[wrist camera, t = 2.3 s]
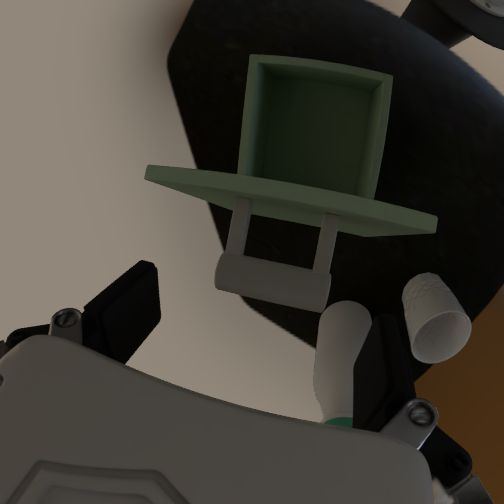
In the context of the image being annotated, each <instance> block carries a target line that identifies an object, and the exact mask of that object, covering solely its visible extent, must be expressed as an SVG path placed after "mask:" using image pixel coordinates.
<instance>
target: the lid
mask: <svg viewBox="0 0 504 504" xmlns="http://www.w3.org/2000/svg"><path fill="white" fill-rule="evenodd" d="M145 180H148V181H151V182H154V183H157V184H160V185H163V186H166V187H169V188H171V189H174V190H177V191H180V192H183V193H186V194H188V195H191V196H194V197H197V198H200V199H203V200H205V201H208V202H211V203H214V204H216V205H219V206H222V207H225V208H227V209H230V210H233V215H232V220H231V225H230V231H229V236H228V241H227V247H226V252H224V253H223V254H222V255H221V257H220V259H219V261H218V264H217V267H216V271H215V287H216V288H217V289H218V290H222V291H226V292H230V293H235V294H239V295H243V296H247V297H251V298H256V299H260V300H264V301H269V302H273V303H278V304H282V305H287V306H291V307H296V308H301V309H305V310H310V311H315V312H320V313H321V312H323V311H324V309H325V306H326V302H327V299H328V294H329V290H330V284H331V274H329V269H330V265H331V260H332V255H333V250H334V245H335V240H336V235H337V231H341V232H346V233H351V234H355V235H360V236H365V237H367V236H387V235H407V234H428V233H435V232H436V226H437V219H438V218H437V217H436V216H434V215H430V214H427V213H423V212H419V211H416V210H412V209H408V208H404V207H401V206H397V205H393V204H389V203H385V202H380V201H376V200H372V199H368V198H363V197H359V196H354V195H350V194H345V193H341V192H336V191H331V190H326V189H321V188H316V187H311V186H305V185H300V184H294V183H289V182H283V181H277V180H271V179H264V178H258V177H251V176H245V175H238V174H230V173H223V172H215V171H207V170H198V169H188V168H179V167H168V166H157V165H148V166H147V169H146V173H145ZM251 214H255V215H260V216H266V217H271V218H277V219H282V220H287V221H292V222H297V223H302V224H307V225H312V226H317V227H321V231H320V237H319V242H318V247H317V252H316V257H315V261H314V266H313V270H310V269H305V268H301V267H296V266H291V265H286V264H281V263H277V262H272V261H267V260H262V259H258V258H253V257H248V256H243V253H244V247H245V242H246V237H247V232H248V226H249V221H250V216H251Z"/></svg>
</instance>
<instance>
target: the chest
mask: <svg viewBox="0 0 504 504" xmlns="http://www.w3.org/2000/svg"><path fill="white" fill-rule="evenodd" d="M392 81H393V76H392V75H388V74H384V73H380V72H376V71H372V70H368V69H363V68H359V67H354V66H349V65H344V64H338V63H332V62H326V61H320V60H312V59H304V58H295V57H285V56H272V55H252V54H251V55H250V59H249V68H248V76H247V85H246V95H245V104H244V113H243V123H242V133H241V143H240V153H239V163H238V175H245V176H251V177H258V178H264V179H271V180H277V181H283V182H289V183H294V184H300V185H305V186H311V187H316V188H321V189H326V190H331V191H336V192H341V193H345V194H350V195H354V196H359V197H363V198H368V199H372V200H373V199H374V195H375V190H376V185H377V180H378V175H379V170H380V165H381V160H382V154H383V148H384V142H385V136H386V130H387V123H388V116H389V108H390V100H391V91H392Z"/></svg>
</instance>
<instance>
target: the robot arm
mask: <svg viewBox="0 0 504 504" xmlns="http://www.w3.org/2000/svg"><path fill="white" fill-rule="evenodd" d="M470 1H471V2H472V3H474V4H475V5H476V6H478V7H479V8H481V9H482V10H484V11H486V12H488V13H490V14H492V15H495V16H499V17H504V0H470ZM160 319H161V310H160V298H159V285H158V271H157V268H156V267H155V265H154V263H152V262H148V261H144V260H141V261H139V262H138V263H137V264H135V265H134V266H133V267H131V268H130V269H129V270H128V271H126V272H125V273H124V274H123V275H121V276H120V277H119V278H118V279H117V280H115V281H114V282H113V283H112V284H110V285H109V286H108V287H107V288H106V289H104V290H103V291H102V292H101V293H100V294H98V295H97V296H96V297H95V298H94V299H92V300H91V301H90V302H89V303H88V304H86V305H85V306H84V312H83V313H81V312H80V311H79V310H77V309H74V308H66V309H62V310H60V311H58V312H56V313H55V314H54V315H53V317H52V319H51V323H50V324H46V325H40V326H33V327H27V328H21V329H17V330H15V331H13V332H12V333H11V334H10V335H9V336H8V337H7V340H6V342H4V340H2V341H0V504H494V503H493V501H492V500H491V498H490V496H489V495H488V493H487V491H486V490H485V488H484V487H483V485H482V483H481V481H480V480H479V478H478V477H477V475H476V474H475V475H472V474H471V469H472V459H471V457H470V455H469V454H468V452H467V451H466V450H465V449H464V448H462V447H461V446H460V445H459V444H458V443H456V442H455V441H454V440H453V439H452V438H450V437H449V436H448V435H447V434H446V433H445V432H443V431H442V430H441V429H440V428H439V427H437V426H436V424H437V422H438V412H437V410H436V408H435V406H434V405H433V404H432V403H431V402H429V401H428V400H426V399H422V398H416V393H415V387H414V382H413V377H412V372H411V367H410V362H409V358H408V354H407V351H406V350H405V349H403V347H402V343H401V339H400V335H399V330H398V326H397V322H396V319H395V316H394V315H389V314H383V313H381V314H380V316H375V318H374V320H373V323H372V325H371V327H370V330H369V332H368V334H367V337H366V339H365V341H364V343H363V346H362V348H361V350H360V352H359V354H358V357H357V359H356V361H355V363H354V367H353V421H352V428H349V427H342V426H336V425H329V424H323V423H317V422H312V421H307V420H301V419H296V418H291V417H286V416H282V415H277V414H273V413H268V412H264V411H260V410H256V409H252V408H248V407H244V406H240V405H237V404H233V403H230V402H226V401H223V400H220V399H216V398H213V397H210V396H207V395H203V394H200V393H197V392H194V391H191V390H189V389H186V388H182V387H180V386H177V385H174V384H172V383H169V382H166V381H164V380H161V379H158V378H156V377H153V376H151V375H148V374H146V373H143V372H141V371H138V370H136V369H134V368H131V367H129V366H127V365H125V364H126V362H127V361H128V360H129V359H130V357H131V356H132V355H133V354H134V353H135V351H136V350H137V349H138V348H139V346H140V345H141V344H142V343H143V341H144V340H145V339H146V338H147V337H148V335H149V334H150V333H151V332H152V331H153V329H154V328H155V327H156V325H157V324H158V323H159V322H160Z"/></svg>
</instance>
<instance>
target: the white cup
mask: <svg viewBox="0 0 504 504" xmlns="http://www.w3.org/2000/svg"><path fill="white" fill-rule="evenodd" d="M402 301H403V305H404V314H405V319H406V324H407V329H408V334H409V339H410V345H411V350H412V353H413V355H414V357H415V358H416V359H418V360H419V361H421V362H424V363H438V362H442V361H445V360H447V359H449V358H451V357H452V356H454V355H455V354H457V353H458V352H459V351H460V350H461V349H462V348H463V347H464V346H465V344H466V343H467V341H468V339H469V337H470V334H471V322H470V319H469V318H468V316H467V314H466V313H465V311H464V310H463V308H462V307H461V305H460V303H459V302H458V300H457V299H456V297H455V296H454V294H453V293H452V292H451V291H450V289H449V288H448V286H446V285H445V283H444V282H443V280H442V279H441V278H440V277H439V276H438V275H436V274H433V273H429V272H428V273H423V274H418V275H417V276H415V277H414V278H412V279H411V280H410V281H409V282H408V283H407V285H406V286H405V288H404V290H403V295H402Z"/></svg>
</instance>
